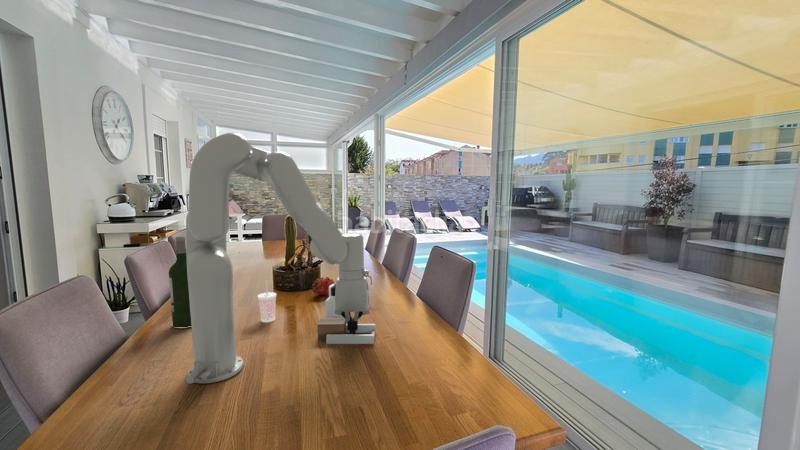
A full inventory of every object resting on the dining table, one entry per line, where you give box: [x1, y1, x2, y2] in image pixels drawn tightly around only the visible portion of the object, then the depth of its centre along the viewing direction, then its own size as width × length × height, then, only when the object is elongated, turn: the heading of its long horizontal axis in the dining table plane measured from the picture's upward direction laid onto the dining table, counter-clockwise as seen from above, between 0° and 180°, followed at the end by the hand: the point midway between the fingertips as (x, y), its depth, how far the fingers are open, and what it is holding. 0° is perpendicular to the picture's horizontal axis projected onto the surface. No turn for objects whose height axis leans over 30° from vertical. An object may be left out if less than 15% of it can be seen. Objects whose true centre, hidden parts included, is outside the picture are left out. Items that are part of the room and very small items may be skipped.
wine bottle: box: [168, 235, 192, 328], centre depth 119 cm, size 8×8×30 cm
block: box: [316, 317, 347, 341], centre depth 111 cm, size 5×8×5 cm, turn 91°
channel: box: [325, 323, 376, 345], centre depth 111 cm, size 9×14×2 cm, turn 90°
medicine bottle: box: [324, 282, 344, 318], centre depth 126 cm, size 7×7×12 cm
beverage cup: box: [257, 280, 277, 323], centre depth 124 cm, size 6×6×14 cm
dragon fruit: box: [311, 276, 335, 297], centre depth 152 cm, size 8×8×12 cm
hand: (352, 332), depth 111 cm, fingers closed
